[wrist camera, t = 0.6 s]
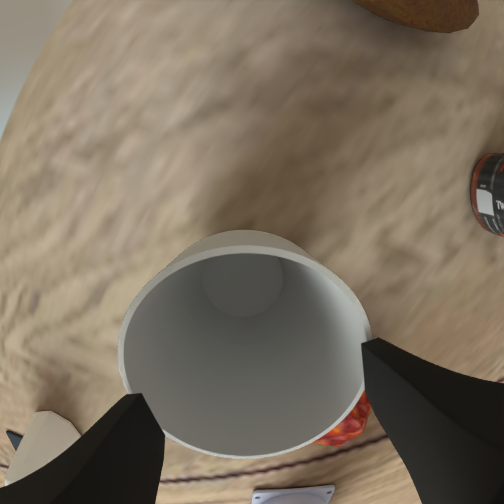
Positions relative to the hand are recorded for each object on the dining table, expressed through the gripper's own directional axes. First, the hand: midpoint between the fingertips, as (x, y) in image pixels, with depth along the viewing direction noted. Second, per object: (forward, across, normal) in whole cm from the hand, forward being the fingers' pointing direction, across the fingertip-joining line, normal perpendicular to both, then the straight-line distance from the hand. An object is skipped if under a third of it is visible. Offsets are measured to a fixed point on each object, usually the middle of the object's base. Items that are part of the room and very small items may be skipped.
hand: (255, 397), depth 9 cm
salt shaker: (+10, +20, +10) cm, 25 cm away
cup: (+10, 0, -1) cm, 10 cm away
